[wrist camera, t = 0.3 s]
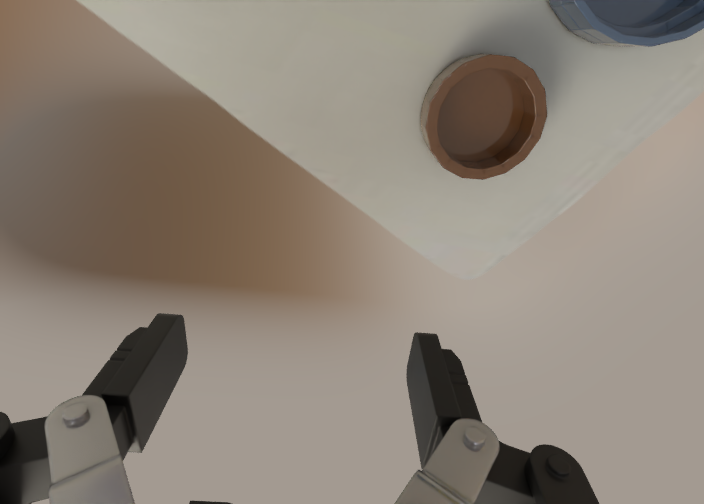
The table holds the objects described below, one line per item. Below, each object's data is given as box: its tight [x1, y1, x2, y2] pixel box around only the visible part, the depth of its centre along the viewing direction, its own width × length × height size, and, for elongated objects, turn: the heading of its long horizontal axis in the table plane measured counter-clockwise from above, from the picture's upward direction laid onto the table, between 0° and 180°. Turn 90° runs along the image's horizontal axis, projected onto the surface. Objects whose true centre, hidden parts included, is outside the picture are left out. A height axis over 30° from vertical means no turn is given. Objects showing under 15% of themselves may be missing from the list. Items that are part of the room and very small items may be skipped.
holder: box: [421, 54, 547, 180], centre depth 37 cm, size 10×10×4 cm
